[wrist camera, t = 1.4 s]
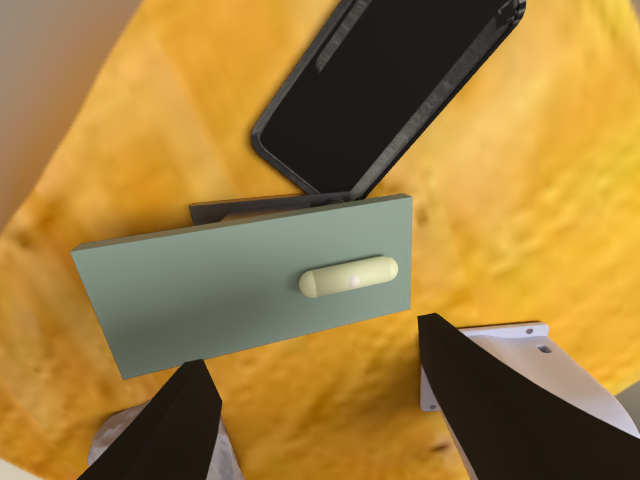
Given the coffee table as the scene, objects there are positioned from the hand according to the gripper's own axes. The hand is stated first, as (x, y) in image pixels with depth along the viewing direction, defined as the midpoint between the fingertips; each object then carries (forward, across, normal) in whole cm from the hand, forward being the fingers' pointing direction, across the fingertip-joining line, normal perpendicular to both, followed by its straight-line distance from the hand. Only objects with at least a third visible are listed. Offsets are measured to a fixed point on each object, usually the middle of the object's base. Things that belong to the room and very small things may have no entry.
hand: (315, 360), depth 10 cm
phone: (+12, -6, -8) cm, 16 cm away
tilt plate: (+7, +2, 0) cm, 7 cm away
